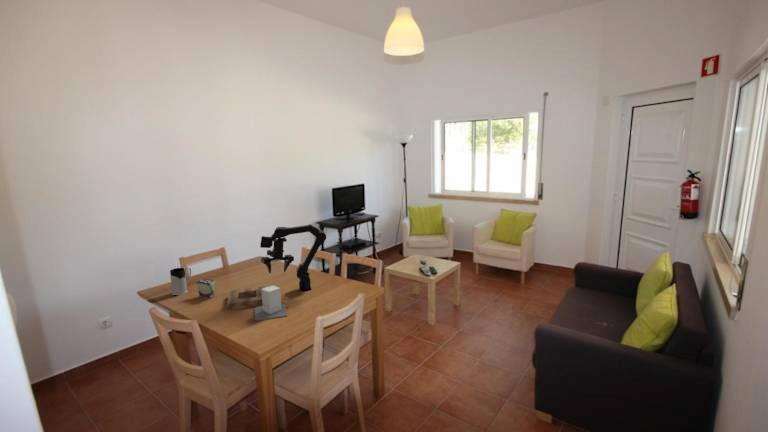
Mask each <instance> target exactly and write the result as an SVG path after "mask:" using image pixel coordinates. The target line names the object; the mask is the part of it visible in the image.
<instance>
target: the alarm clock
mask: <svg viewBox="0 0 768 432" xmlns="http://www.w3.org/2000/svg"><path fill="white" fill-rule="evenodd" d="M196 285H197V291H198V295H199V297H200V298H205V299H208V300H212V299H213V298H214V297H215V289H214V288H215V285H216V282H215V279H214V278H201V279H197V280H196Z"/></svg>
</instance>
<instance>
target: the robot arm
mask: <svg viewBox="0 0 768 432" xmlns="http://www.w3.org/2000/svg"><path fill="white" fill-rule="evenodd" d="M303 233H310V234H312V235H313V236H314V237H315V238H314V241H313V244H312V246H311V248H310V249H309V252H308V253H307V255H306V257H305V259H304V261H303V262H302V263H299V264H298V267H297V268H296V270H295V271H296V277H297V279H299V281H298V288H299V291H301V292H305V291H311V290H312V286H311V285H312V284H311V283H312V282H311V278H310V277H311V276H310V273H309V272H308V271H309V267H310V265H311V263H312V261H313V260H314V258H315V256H316V254H317V252H318V251H319V248H320V247H321V246H322V245H323V244H324V243H325V241H326V240H327V234H326V232H325V231H324V230H320V229H319V228H318V227H315V226H314V225H313V224H305V225H297V226H291V227H286V226H278V227H276V228H275V229H274V232H273V233H272V234H271V235H270V236H264V235H261V237H260V239H261V240H260V246H259V247H260V248H261V249H262V248H263V249H267V248H268V249H267V251H266V256H263V257H261V259H260V262H261V263H263V264H264V265H266V267H267V271H268V274H269V275H270V274H271V272H272V262H278V261H283V262H284V265H283V272H284V273H286V271H287V269H288V268H289V266H290V264H291V263H293V262H294V261H295V257H294V256H293V255H292V254H285V255H284V252H285V250H284V242H288V241H287V240H288V239H287V238H286V237H287V236H290V235H296V234H303ZM271 247H272V250H271V249H270V248H271Z"/></svg>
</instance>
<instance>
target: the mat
mask: <svg viewBox="0 0 768 432" xmlns="http://www.w3.org/2000/svg"><path fill="white" fill-rule="evenodd" d="M281 306H282V310H280V311H278V312H275V313H272V314H269V313H267V312H265V311H263V305H260V306H254V322H258V321H264V320H265V321H266V320H272V319H278V318H284V317H288V315H287V309H286V304H285V302H284V303H282V302H281Z"/></svg>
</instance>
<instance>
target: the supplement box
mask: <svg viewBox="0 0 768 432" xmlns="http://www.w3.org/2000/svg"><path fill="white" fill-rule="evenodd" d="M261 291H262V303H263V305H262V306H263V311H265V312H267V313H269V314H272V313H275V312H278V311H280V310H282V306H281V304H282V295H281V288H280V287H279V286H276V285H274V284H272V285H269V286H265V288H263V289H261Z"/></svg>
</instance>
